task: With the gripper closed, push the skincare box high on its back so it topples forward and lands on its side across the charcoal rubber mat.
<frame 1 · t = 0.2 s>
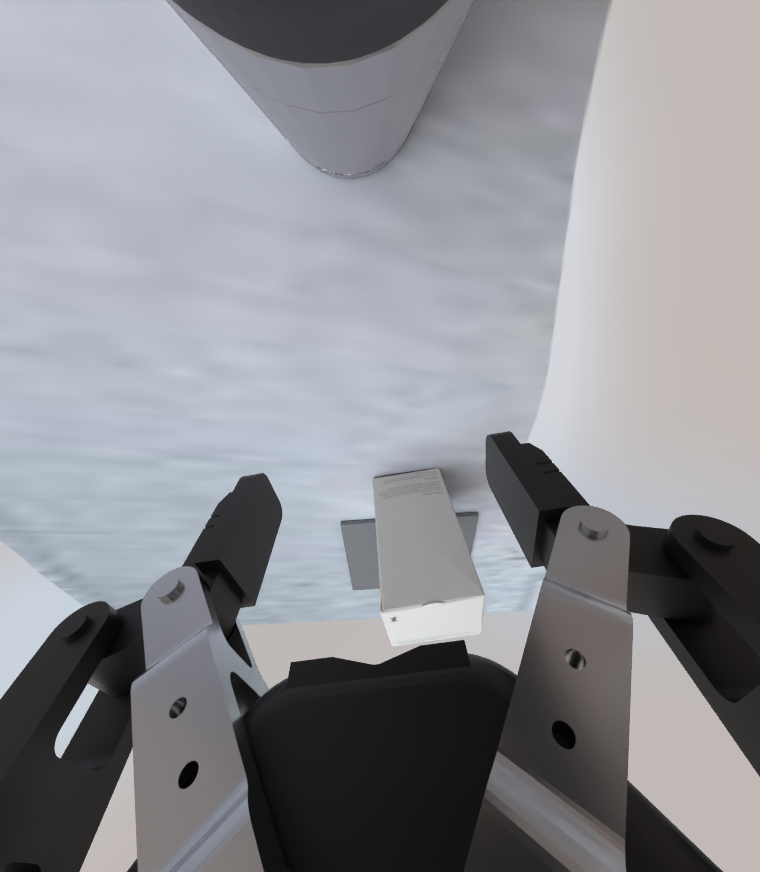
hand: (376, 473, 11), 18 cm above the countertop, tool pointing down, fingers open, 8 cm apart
skincare box: (408, 488, 37), on the countertop
mat: (408, 553, 45), on the countertop
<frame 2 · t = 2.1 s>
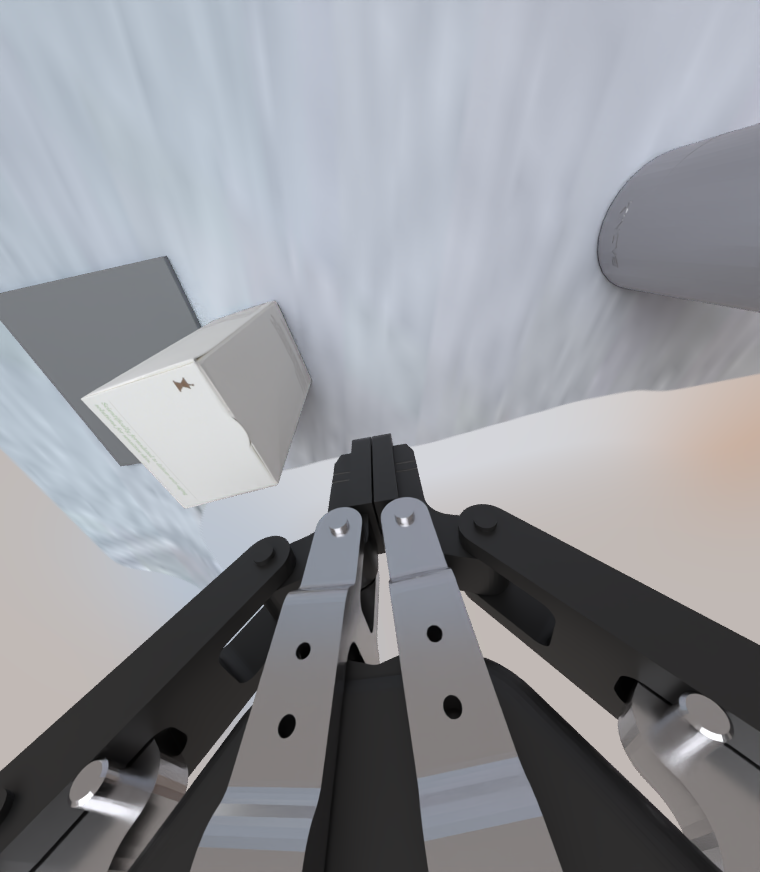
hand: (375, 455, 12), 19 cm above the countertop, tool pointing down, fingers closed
skincare box: (269, 352, 29), on the countertop
mat: (141, 378, 30), on the countertop
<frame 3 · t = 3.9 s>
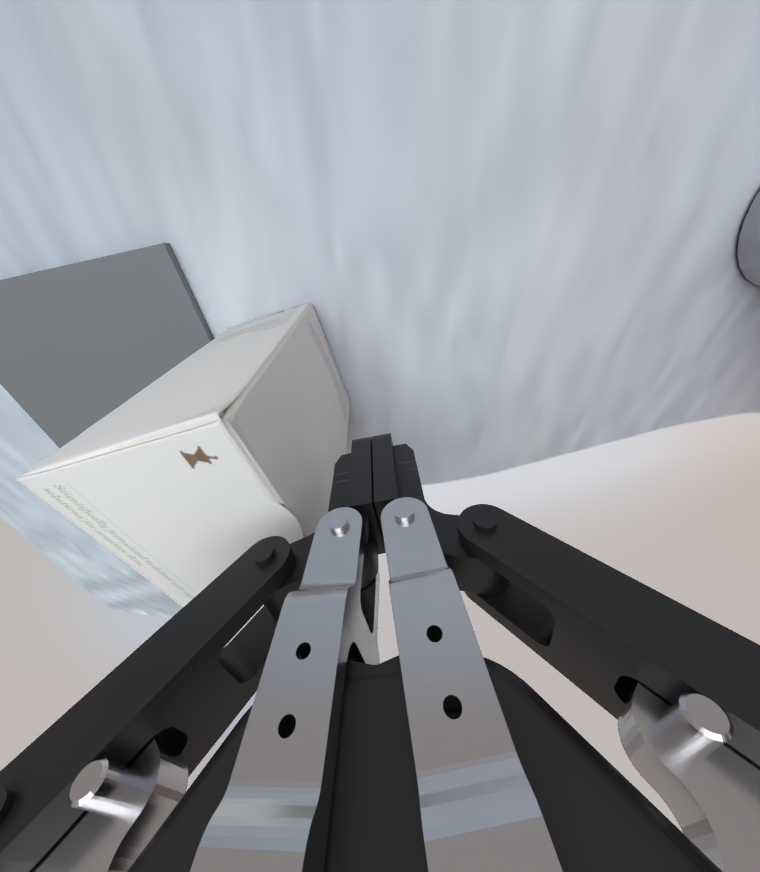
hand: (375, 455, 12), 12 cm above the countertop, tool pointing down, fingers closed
skincare box: (298, 368, 23), on the countertop, touching gripper
mat: (136, 400, 23), on the countertop
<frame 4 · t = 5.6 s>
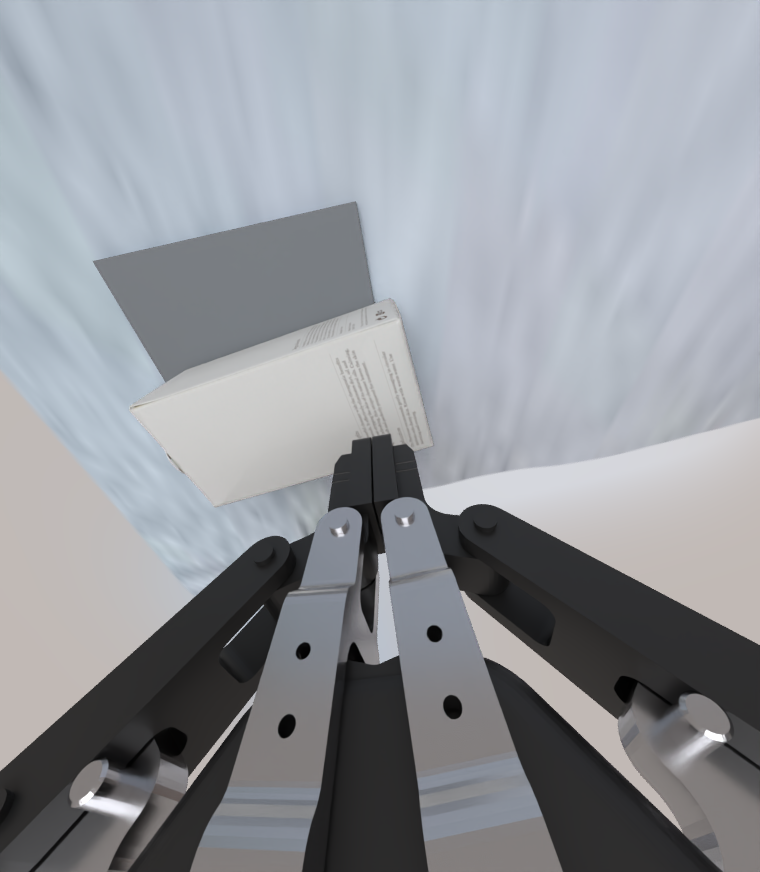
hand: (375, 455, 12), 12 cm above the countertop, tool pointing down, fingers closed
skincare box: (418, 372, 19), point 4 cm above the countertop, touching mat
mat: (278, 374, 23), on the countertop
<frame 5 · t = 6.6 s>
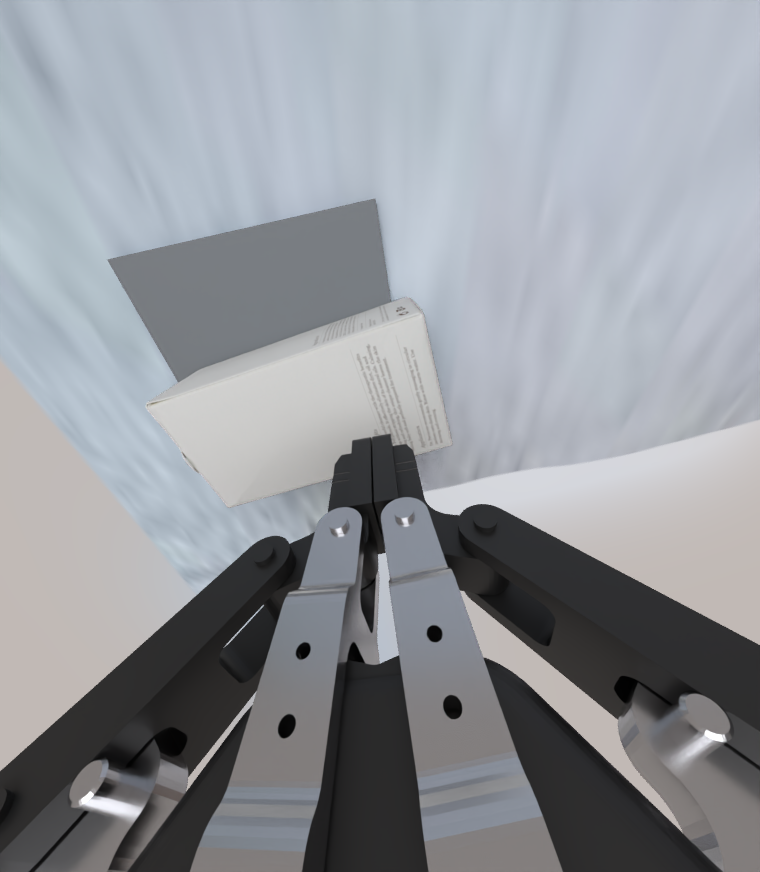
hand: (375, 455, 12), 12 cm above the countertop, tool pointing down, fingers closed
skincare box: (436, 370, 19), point 4 cm above the countertop, touching mat
mat: (292, 374, 22), on the countertop
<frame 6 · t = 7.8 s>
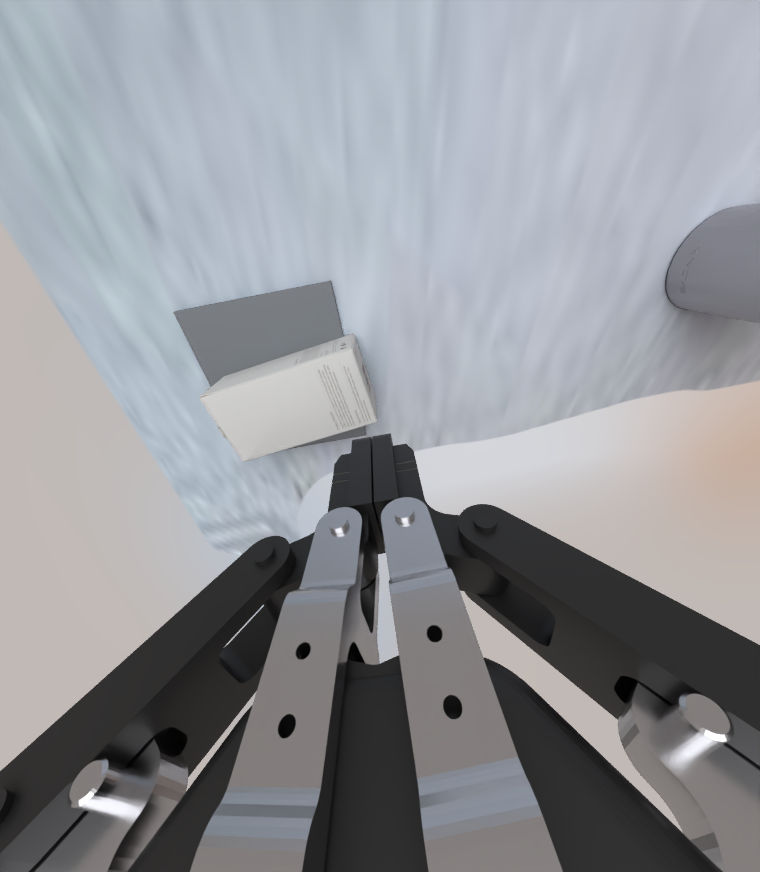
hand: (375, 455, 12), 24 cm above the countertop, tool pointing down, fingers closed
skincare box: (368, 378, 31), point 4 cm above the countertop, touching mat
mat: (283, 379, 35), on the countertop
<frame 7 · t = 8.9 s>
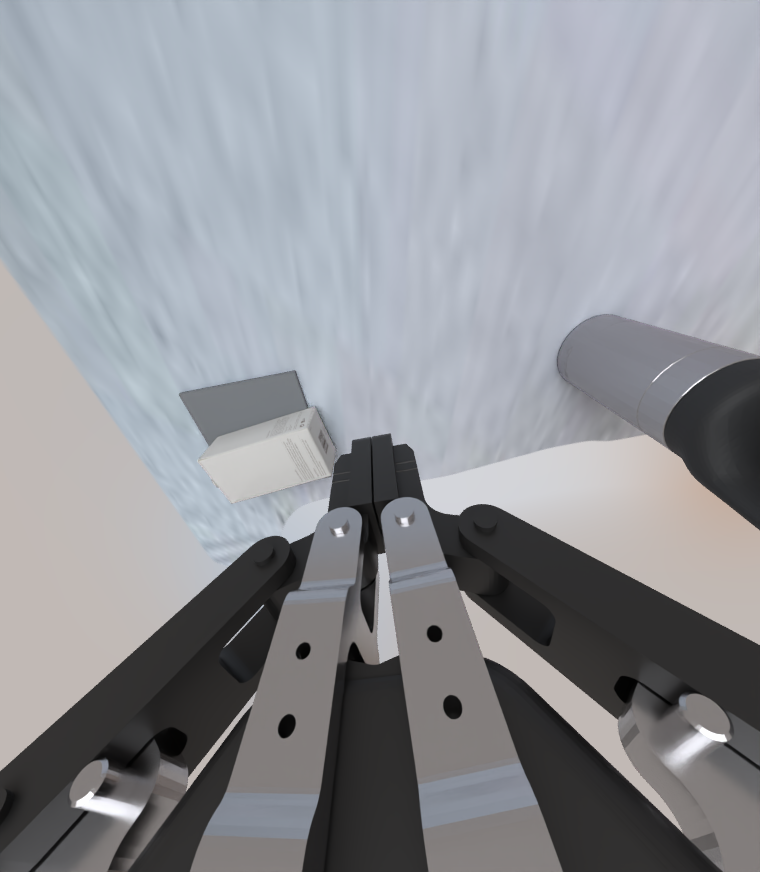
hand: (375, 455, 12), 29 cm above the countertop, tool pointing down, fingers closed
skincare box: (325, 441, 41), point 4 cm above the countertop, touching mat
mat: (263, 437, 45), on the countertop
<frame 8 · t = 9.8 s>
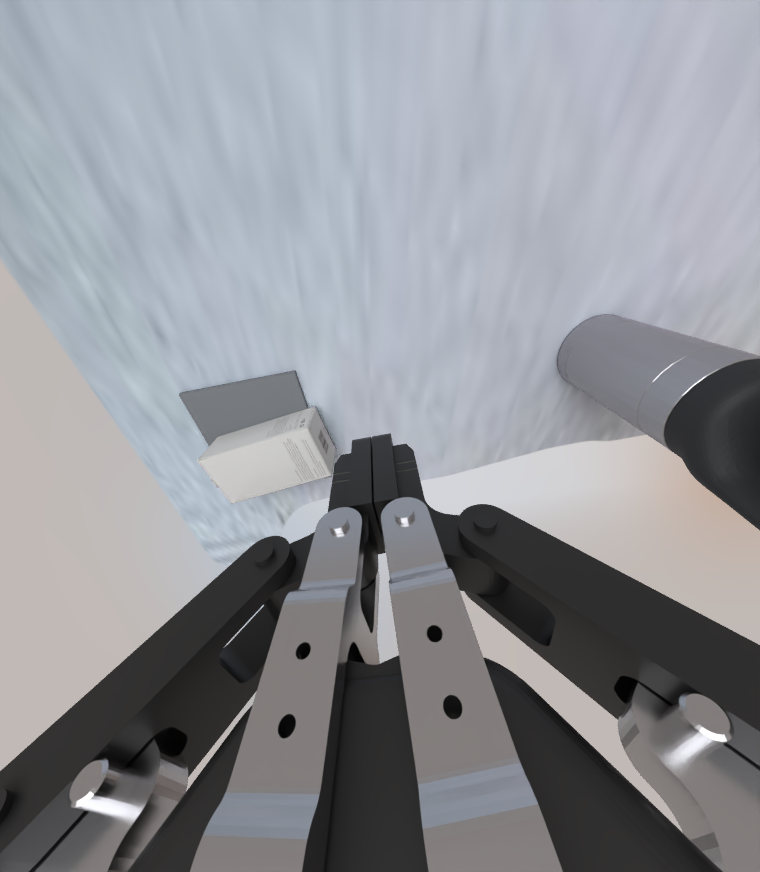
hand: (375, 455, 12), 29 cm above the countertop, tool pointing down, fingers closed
skincare box: (325, 441, 41), point 4 cm above the countertop, touching mat
mat: (263, 437, 45), on the countertop
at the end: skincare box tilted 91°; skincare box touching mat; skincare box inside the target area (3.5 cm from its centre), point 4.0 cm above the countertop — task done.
